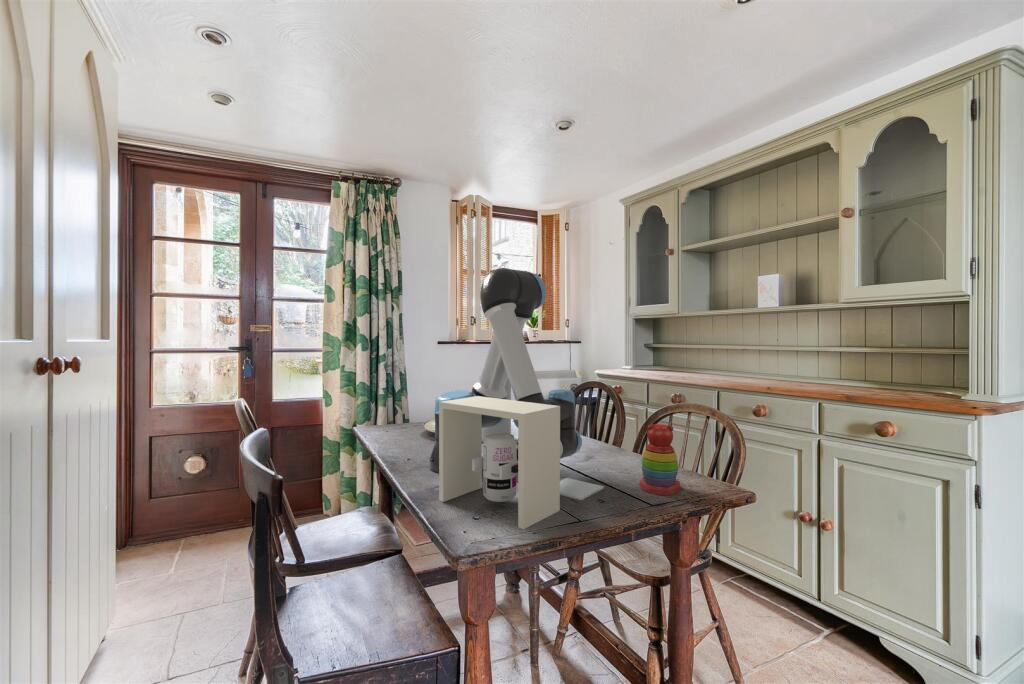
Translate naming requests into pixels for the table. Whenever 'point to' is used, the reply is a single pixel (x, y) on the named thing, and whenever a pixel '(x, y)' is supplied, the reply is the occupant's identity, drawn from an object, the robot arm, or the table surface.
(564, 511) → the table surface
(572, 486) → the tile
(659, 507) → the table surface
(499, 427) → the cylinder vase
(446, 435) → the tunnel
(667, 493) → the stacking bear
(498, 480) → the supplement can
